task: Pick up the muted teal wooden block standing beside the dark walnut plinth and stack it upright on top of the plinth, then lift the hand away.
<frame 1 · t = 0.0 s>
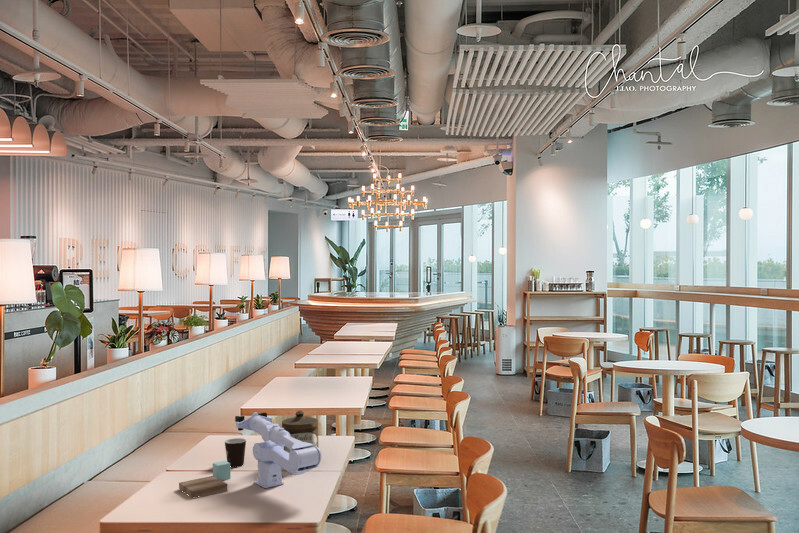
hand: (245, 417, 269), 22 cm above the table, tool horizontal, fingers open, 7 cm apart
walnut plinth: (203, 490, 247), on the table
wooden container: (300, 464, 279), on the table
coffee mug: (236, 464, 280), on the table
teal block: (221, 478, 261), on the table
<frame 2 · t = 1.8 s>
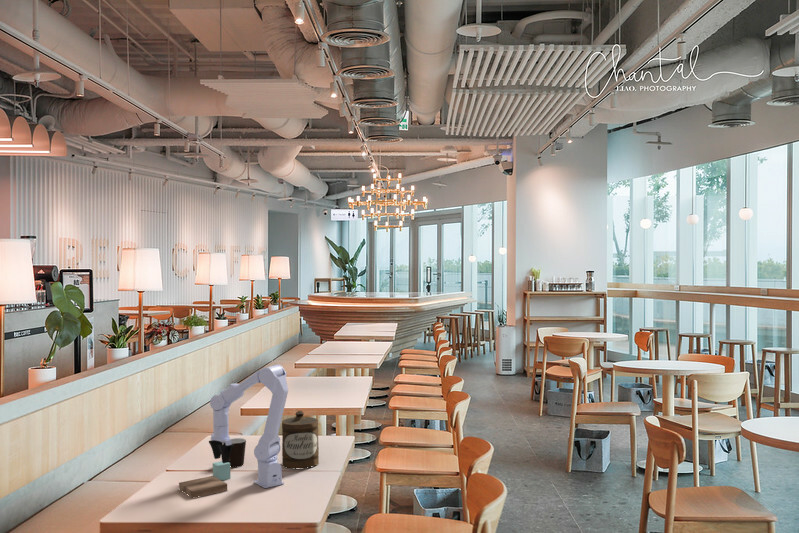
hand: (221, 460, 261), 7 cm above the table, tool pointing down, fingers open, 7 cm apart
nothing on the table moved.
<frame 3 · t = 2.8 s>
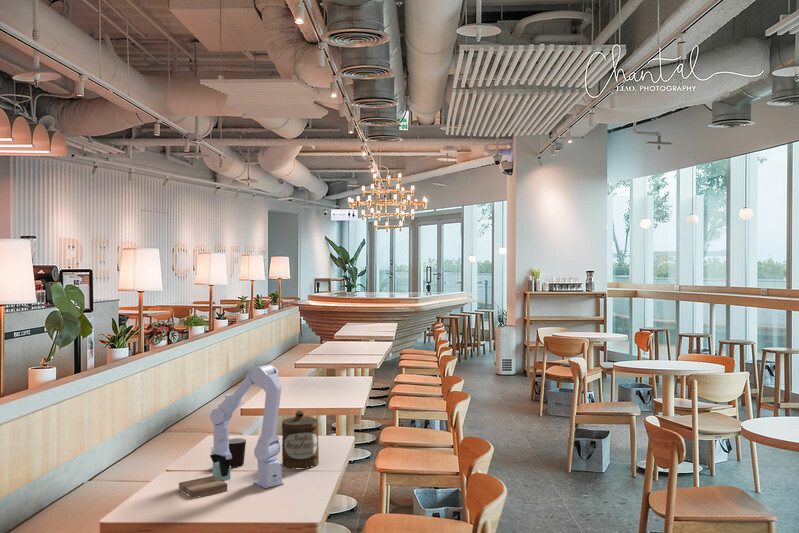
hand: (221, 474, 261), 2 cm above the table, tool pointing down, fingers closed on teal block, 5 cm apart
teal block: (221, 478, 261), on the table, touching gripper
everything else where it was.
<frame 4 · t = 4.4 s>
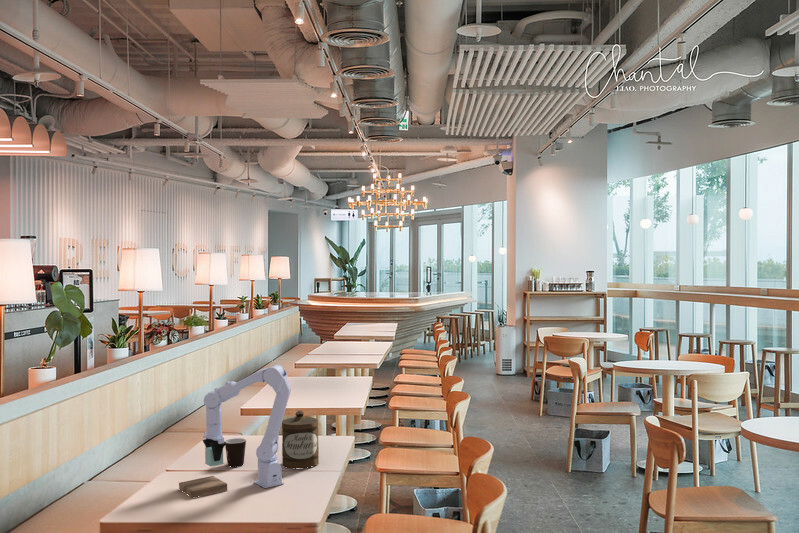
hand: (214, 459, 255), 9 cm above the table, tool pointing down, fingers closed on teal block, 5 cm apart
teal block: (214, 463, 255), point 7 cm above the table, touching gripper
everything else where it was.
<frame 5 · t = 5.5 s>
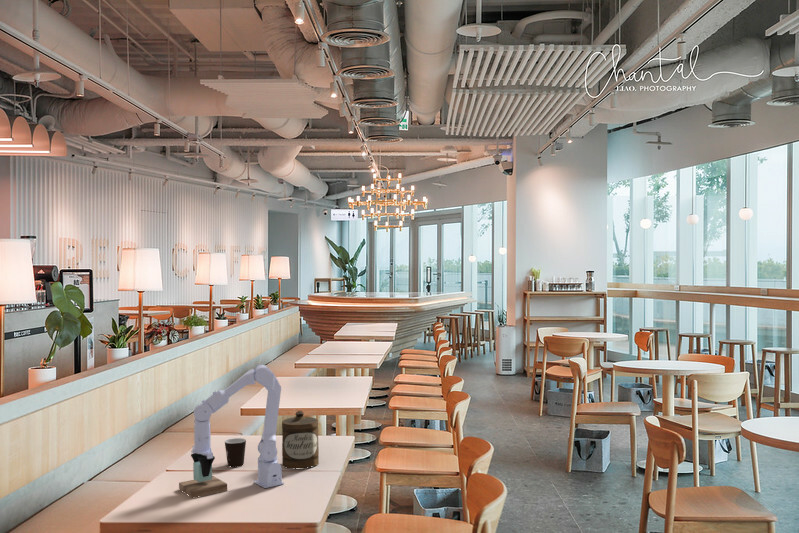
hand: (202, 474, 247), 6 cm above the table, tool pointing down, fingers closed on teal block, 5 cm apart
teal block: (202, 479, 247), point 4 cm above the table, touching gripper
everything else where it was.
when the fingers open (5 cm above the table, at t = 6.1 s): teal block stays where it is, resting on walnut plinth.
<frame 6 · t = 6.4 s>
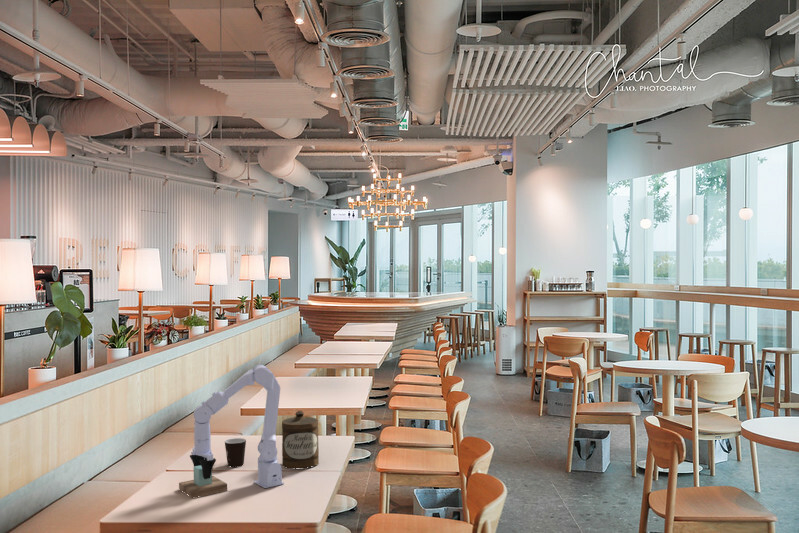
hand: (202, 476, 247), 5 cm above the table, tool pointing down, fingers open, 7 cm apart
teal block: (202, 483, 247), point 2 cm above the table, touching walnut plinth
everything else where it was.
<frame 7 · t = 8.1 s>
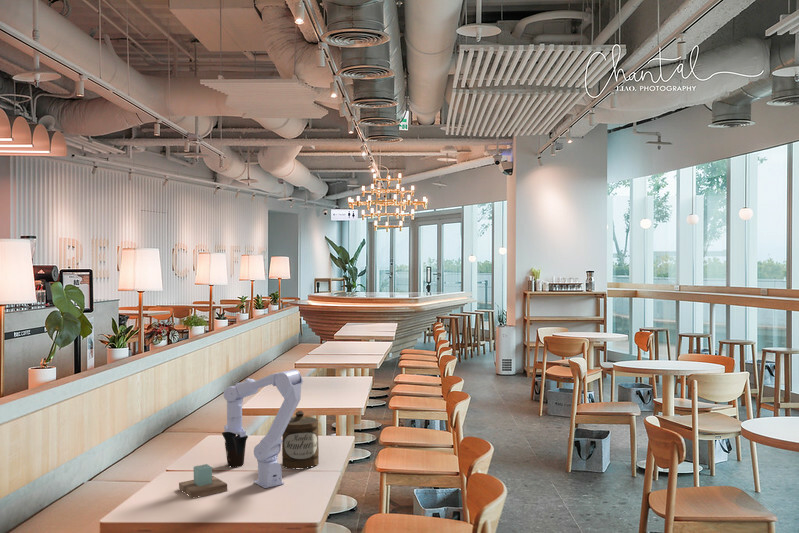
hand: (234, 452, 260), 10 cm above the table, tool pointing down, fingers open, 7 cm apart
nothing on the table moved.
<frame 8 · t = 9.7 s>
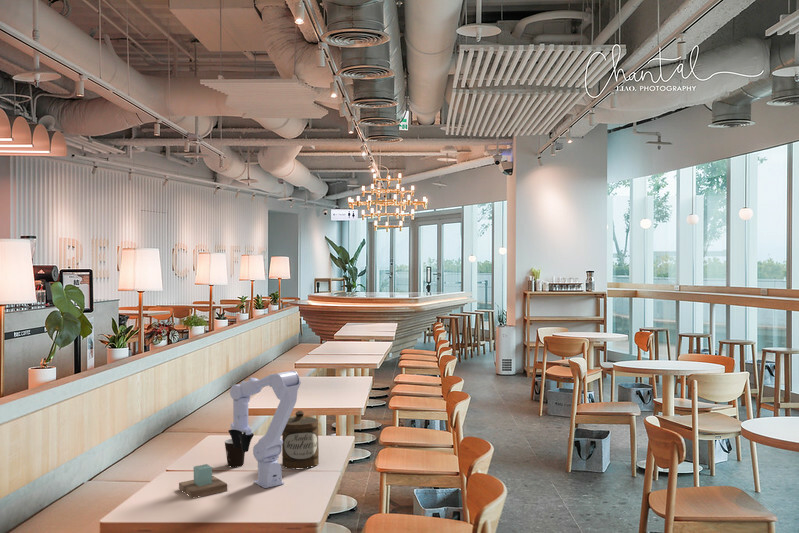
hand: (240, 449, 263), 10 cm above the table, tool pointing down, fingers open, 7 cm apart
nothing on the table moved.
at the end: teal block inside the target area on the walnut plinth (0.0 cm from its centre), point 2.5 cm above the walnut plinth's base; teal block tilted 0°; the gripper is holding nothing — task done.
